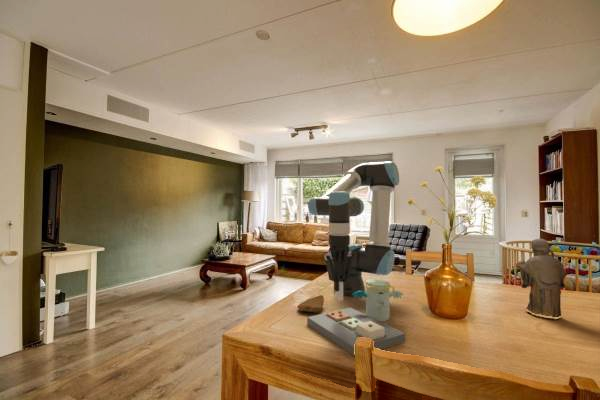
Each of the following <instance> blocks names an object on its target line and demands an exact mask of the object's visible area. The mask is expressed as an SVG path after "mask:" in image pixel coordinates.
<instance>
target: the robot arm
mask: <svg viewBox="0 0 600 400" xmlns="http://www.w3.org/2000/svg"><path fill="white" fill-rule="evenodd" d="M399 183H400V172H399V169H398V165H397V164H396V162H394V161H386V160H385V161H377V162H376V161H375V162H363V163H359V164H358V165H356V166H354V167H352V168H351V169H349V170H347V171H346V172H345V173H344V174H343V177H342V178H341V179H340V180H338V181H337V182H336V183H335V184H333V185H332V186H331V187H330V188H329V189H328V190H326V191H325V192H324V193H323V194H321V196H318V197H317V196H315V197H311V198H310V199H309V200H308V202H307V209H308V212H309V213H310V214H311V215H314V216H319V217H320V216H328V233H329V235H328V245H329V249H328V252H327V253H326V254H323V256H322V257H323V259H324V261H325V265H326V271H327V275H328V280H330V281H332V282H333V291H334V292H335V294H334V295H335V299H334V300H338V301H339V302H341V301H342V302H343V301H344V296H348V297H355V295H353V296H352V294H353V293H354V292H357V291H363V292H364V293H365V294H366V285H365V283H364V280H363V276H362V275H363V273H366V274H371V275H377V276H389V275H390V274H391V272H392V270H393V268H394V265H395V261H396V260H395V259H396V258H395V257H396V256H395V251H394V250H392V248H391V247H392V246H391V245H390V244H389V228H390V227H389V226H390V211H391V197H392V195H391V193H392V192H394V191H395V186H398V185H399ZM360 187H369V190H370V191H371V193H372V195H371V210H370V211H371V212H370V222H369V223H370V224H369V237H368V240H367V242H366V243H365V246H364V247H363V245H362V243H351V240H350V239H351V237H350V235H349V234H351V229H350V228H351V225H350V224H351V223H350V222H351V220H350V219H351V218H350V217H358V216H360V215H362V213H363V211H364V209H365V204H364V201H363V200H362V199H361V198H359V197H356V196H350V195H351V192H352V191H354V190H356V189H358V188H360Z"/></svg>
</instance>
